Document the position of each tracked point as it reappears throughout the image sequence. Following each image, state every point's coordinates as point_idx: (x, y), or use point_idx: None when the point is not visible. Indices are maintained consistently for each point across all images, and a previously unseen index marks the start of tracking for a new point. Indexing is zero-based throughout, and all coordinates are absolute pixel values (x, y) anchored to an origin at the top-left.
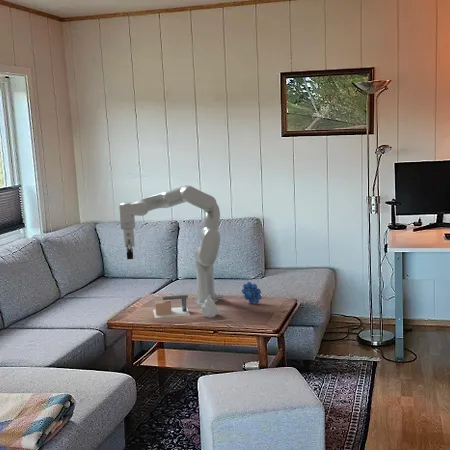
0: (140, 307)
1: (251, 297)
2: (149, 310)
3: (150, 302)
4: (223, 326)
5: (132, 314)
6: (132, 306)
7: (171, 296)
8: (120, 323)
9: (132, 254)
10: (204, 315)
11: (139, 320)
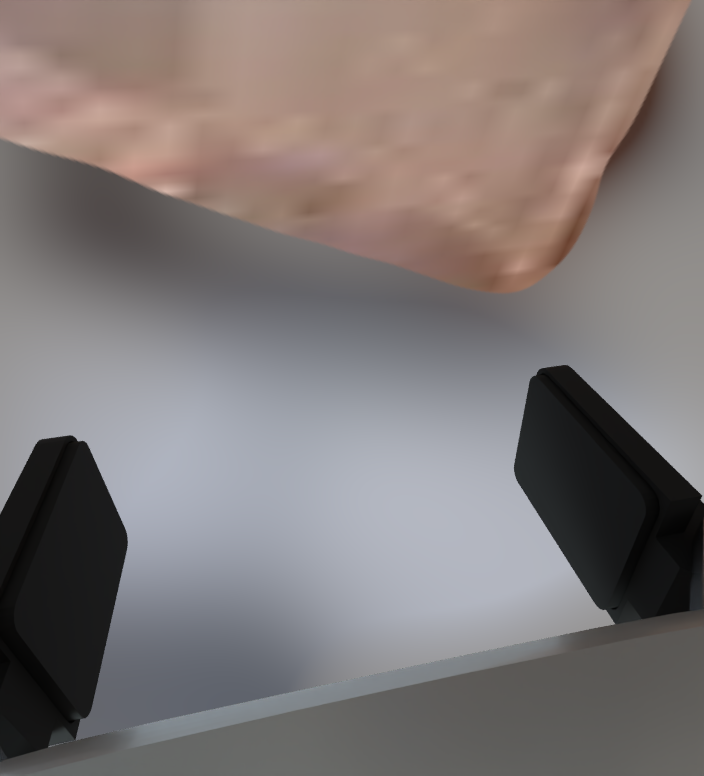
0: (209, 116)
1: None
2: (321, 20)
3: (24, 8)
4: None
5: (401, 175)
6: (170, 193)
7: None
8: (572, 240)
9: (627, 441)
10: None
11: (568, 109)
